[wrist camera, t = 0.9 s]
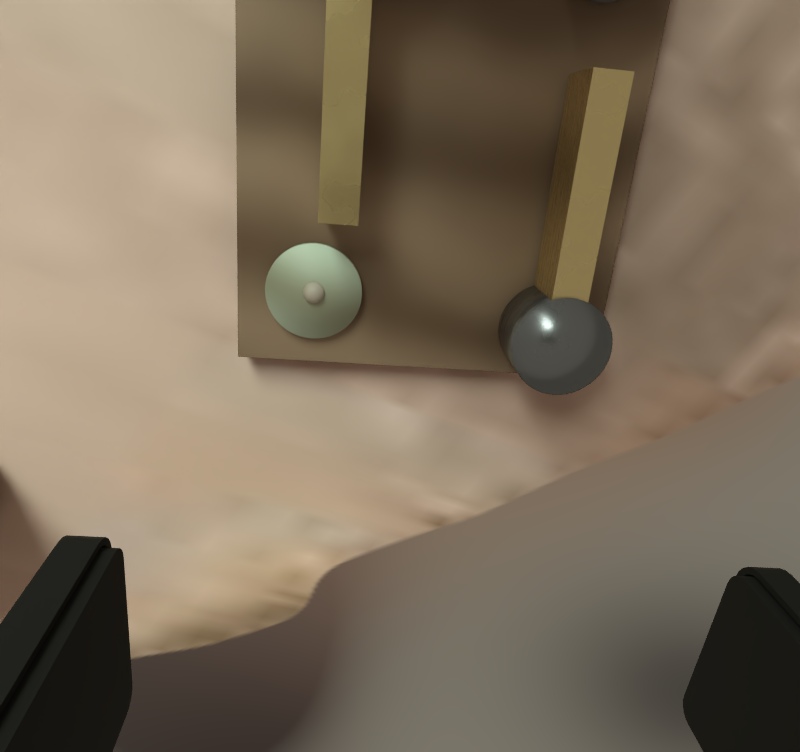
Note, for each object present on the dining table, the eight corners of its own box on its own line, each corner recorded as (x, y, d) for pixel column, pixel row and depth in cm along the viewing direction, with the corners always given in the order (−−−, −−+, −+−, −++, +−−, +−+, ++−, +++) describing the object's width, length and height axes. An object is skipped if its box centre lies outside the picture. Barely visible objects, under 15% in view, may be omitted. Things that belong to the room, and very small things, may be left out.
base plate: (241, -177, 23) (223, -227, 20) (678, -116, 25) (726, -153, 22) (243, 346, 31) (230, 371, 28) (580, 366, 33) (605, 392, 29)
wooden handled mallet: (578, 373, 31) (601, 397, 28) (492, 368, 30) (505, 392, 27) (638, 81, 26) (672, 74, 23) (536, 70, 26) (559, 62, 23)
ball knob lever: (297, -165, 22) (289, -208, 19) (418, -148, 23) (427, -188, 20) (289, 211, 27) (281, 220, 24) (389, 219, 27) (393, 229, 25)
